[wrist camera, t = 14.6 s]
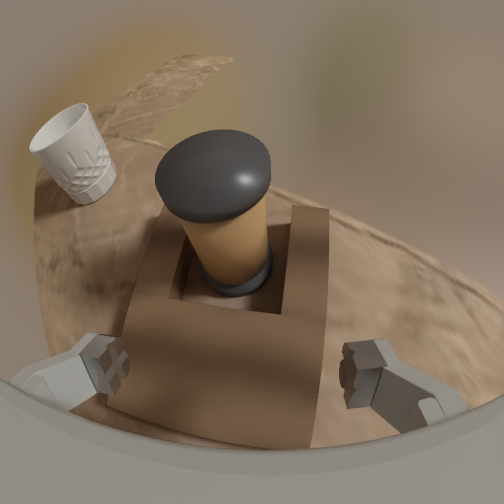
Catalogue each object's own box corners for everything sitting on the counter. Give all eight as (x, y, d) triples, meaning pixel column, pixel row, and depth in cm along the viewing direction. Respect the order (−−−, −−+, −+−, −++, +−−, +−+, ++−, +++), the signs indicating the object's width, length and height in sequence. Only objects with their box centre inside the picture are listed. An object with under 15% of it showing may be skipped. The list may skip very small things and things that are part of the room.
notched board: (304, 444, 15) (308, 451, 13) (123, 405, 17) (106, 405, 15) (324, 226, 23) (329, 209, 21) (174, 213, 25) (166, 197, 23)
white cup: (61, 206, 28) (19, 153, 19) (91, 161, 32) (60, 107, 23) (99, 213, 27) (53, 149, 18) (132, 162, 30) (101, 98, 21)
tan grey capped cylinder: (267, 301, 21) (262, 214, 11) (195, 291, 21) (138, 207, 12) (277, 224, 24) (277, 119, 14) (213, 219, 25) (183, 119, 15)
